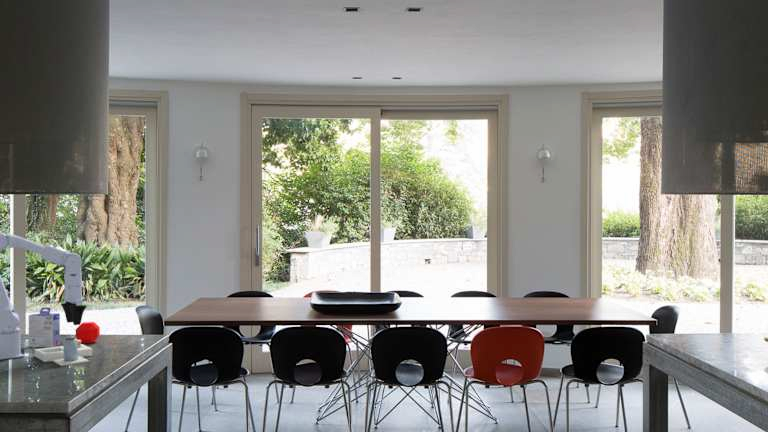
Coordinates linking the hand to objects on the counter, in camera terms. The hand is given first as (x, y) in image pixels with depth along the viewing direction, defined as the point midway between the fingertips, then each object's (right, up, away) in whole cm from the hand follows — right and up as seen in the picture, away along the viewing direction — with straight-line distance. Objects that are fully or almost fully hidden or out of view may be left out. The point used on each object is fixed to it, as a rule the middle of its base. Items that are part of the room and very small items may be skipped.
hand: (73, 323), depth 263 cm
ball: (-3, -10, +19) cm, 22 cm away
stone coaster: (+6, -11, -16) cm, 20 cm away
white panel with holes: (-1, -11, -7) cm, 13 cm away
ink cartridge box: (-16, -11, +11) cm, 22 cm away
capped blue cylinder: (+6, -10, -16) cm, 20 cm away
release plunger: (+3, -10, -4) cm, 11 cm away
